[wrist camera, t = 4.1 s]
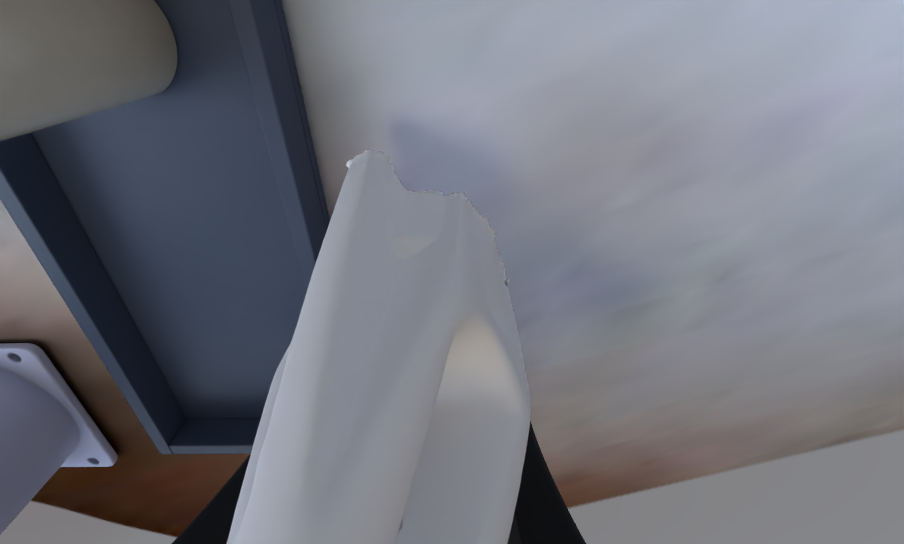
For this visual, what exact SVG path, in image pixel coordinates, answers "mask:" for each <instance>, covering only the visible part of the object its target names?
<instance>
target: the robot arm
mask: <svg viewBox="0 0 904 544" xmlns="http://www.w3.org/2000/svg"><path fill="white" fill-rule="evenodd" d="M250 456H251V454H250V455H249V457H248V458H247V459H246V460H245V461H244V463H243V464H242V465H241V466H240V467H239V469H238V470H237V471H236V472H235V473H234V475H233V476H232V477H231V478H230V479H229V480H228V482H227V483H226V484H225V485H224V486H223V487H222V489H221V490H220V491H219V492H218V493H217V494H216V495H215V497H214V498H213V499H212V500H211V501H210V502H209V504H208V505H207V506H206V507H205V508H204V509H203V510H202V512H201V513H200V514H199V515H198V516H197V517H196V518H195V519H194V520H193V521H192V522H191V524H190V525H189V526H188V527H187V528H186V529H185V530H184V531H183V532H182V533H181V534H180V535H179V536H178V538H177V539H176V540H175V541H174V542H173V543H172V544H227V540H228V537H229V533H230V529H231V525H232V521H233V517H234V513H235V509H236V506H237V502H238V498H239V495H240V491H241V487H242V484H243V480H244V476H245V473H246V469H247V466H248V463H249V459H250ZM117 460H118V456H117V454H116V452H115V451H114V449H113V448H112V447H111V445H110V444H109V442H108V441H107V440H106V438H105V437H104V435H103V434H102V433H101V431H100V430H99V428H98V427H97V425H96V424H95V423H94V421H93V420H92V418H91V417H90V416H89V414H88V413H87V411H86V410H85V409H84V407H83V406H82V404H81V403H80V402H79V400H78V399H77V397H76V396H75V395H74V393H73V392H72V390H71V389H70V387H69V386H68V385H67V383H66V382H65V380H64V379H63V378H62V376H61V375H60V373H59V372H58V371H57V369H56V368H55V366H54V365H53V364H52V362H51V361H50V359H49V358H48V357H47V355H46V354H45V352H44V351H43V350H42V349H41V348H40V347H38V346H37V345H34V344H31V343H2V344H0V534H1V533H2V532H3V531H4V530H5V529H6V528H7V527H8V525H9V524H10V523H11V522H12V521H13V520H14V519H15V517H16V516H17V515H18V514H19V513H20V512H21V511H22V510H23V508H24V507H25V506H26V505H27V504H28V503H29V502H30V500H31V499H32V498H33V497H34V496H35V495H36V494H37V493H38V491H39V490H40V489H41V488H42V487H43V486H44V485H45V483H46V482H47V481H48V480H49V479H50V478H51V477H52V476H53V474H54V473H55V472H56V471H57V470H58V469H59V468H60V467H109V466H112V465H114V463H115V462H116V461H117ZM507 544H586V543H585V541H584V539H583V537H582V536H581V534H580V532H579V530H578V529H577V526H576V524H575V523H574V521H573V519H572V517H571V515H570V513H569V511H568V509H567V507H566V505H565V503H564V501H563V499H562V497H561V495H560V493H559V491H558V489H557V487H556V485H555V482H554V480H553V478H552V476H551V474H550V471H549V469H548V467H547V464H546V462H545V460H544V457H543V455H542V453H541V450H540V447H539V445H538V442H537V439H536V437H535V434H534V431H533V428H532V424H531V421H530V428H529V434H528V441H527V447H526V453H525V460H524V465H523V470H522V476H521V483H520V488H519V493H518V498H517V502H516V507H515V511H514V517H513V522H512V526H511V531H510V535H509V539H508V543H507Z"/></svg>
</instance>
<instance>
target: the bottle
mask: <svg viewBox="0 0 904 544" xmlns="http://www.w3.org/2000/svg"><path fill="white" fill-rule="evenodd" d="M177 60H178V56H177V46H176V41H175V37H174V34H173V31H172V29H171V26H170V24H169V22H168V20H167V18H166V16H165V15H164V13H163V12H162V10H161V9H160V7H159V6H158V5H157V3H156V2H155V1H154V0H0V142H2V141H5V140H8V139H12V138H15V137H18V136H22V135H25V134H28V133H32V132H35V131H39V130H42V129H45V128H49V127H52V126H55V125H59V124H62V123H66V122H69V121H72V120H76V119H79V118H82V117H86V116H89V115H92V114H96V113H99V112H103V111H106V110H109V109H113V108H116V107H119V106H123V105H126V104H130V103H133V102H136V101H140V100H143V99H146V98H150V97H153V96H156V95H158V94H160V93H161V92H162V91H164V90H165V89H166V88H167V87H168V86H169V85H170V83H171V81H172V80H173V77H174V75H175V72H176V68H177Z"/></svg>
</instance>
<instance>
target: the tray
mask: <svg viewBox="0 0 904 544" xmlns="http://www.w3.org/2000/svg"><path fill="white" fill-rule="evenodd" d="M154 1H155V2H156V3H157V5H158V6H159V7H160V9H161V10H162V12H163V13H164V15H165V16H166V18H167V20H168V22H169V24H170V26H171V29H172V31H173V34H174V37H175V41H176V46H177V56H178V60H177V68H176V72H175V75H174V77H173V80H172V81H171V83H170V85H169V86H168V87H167V88H166V89H165V90H164V91H162V92H161V93H160V94H158V95H156V96H153V97H150V98H146V99H143V100H140V101H136V102H133V103H130V104H126V105H123V106H119V107H116V108H113V109H109V110H106V111H103V112H99V113H96V114H92V115H89V116H86V117H82V118H79V119H76V120H72V121H69V122H66V123H62V124H59V125H55V126H52V127H49V128H45V129H42V130H39V131H35V132H32V133H28V134H25V135H22V136H18V137H15V138H12V139H8V140H5V141H2V142H0V200H1V201H2V203H3V204H4V206H5V208H6V209H7V211H8V212H9V214H10V216H11V217H12V219H13V220H14V222H15V224H16V225H17V227H18V228H19V230H20V231H21V233H22V235H23V236H24V238H25V239H26V241H27V243H28V244H29V246H30V247H31V249H32V251H33V252H34V254H35V255H36V257H37V258H38V260H39V262H40V263H41V265H42V266H43V268H44V270H45V271H46V273H47V274H48V276H49V278H50V279H51V281H52V282H53V284H54V286H55V287H56V289H57V290H58V292H59V293H60V295H61V297H62V298H63V300H64V301H65V303H66V305H67V306H68V308H69V309H70V311H71V313H72V314H73V316H74V317H75V319H76V320H77V322H78V324H79V325H80V327H81V328H82V330H83V332H84V333H85V335H86V336H87V338H88V340H89V341H90V343H91V344H92V346H93V348H94V349H95V351H96V352H97V354H98V355H99V357H100V359H101V360H102V362H103V363H104V365H105V367H106V368H107V370H108V371H109V373H110V375H111V376H112V378H113V379H114V381H115V382H116V384H117V386H118V387H119V389H120V390H121V392H122V394H123V395H124V397H125V398H126V400H127V402H128V403H129V405H130V406H131V408H132V410H133V411H134V413H135V414H136V416H137V417H138V419H139V421H140V422H141V424H142V425H143V427H144V429H145V430H146V432H147V433H148V435H149V437H150V438H151V440H152V441H153V443H154V444H155V446H156V448H157V449H158V451H159V452H160V454H173V453H174V454H242V453H251V452H252V447H253V444H254V440H255V437H256V434H257V430H258V427H259V423H260V420H261V416H262V413H263V410H264V406H265V402H266V399H267V396H268V393H269V390H270V386H271V383H272V380H273V378H274V375H275V372H276V370H277V368H278V366H279V364H280V362H281V360H282V358H283V356H284V354H285V353H286V351H287V349H288V347H289V345H290V344H291V341H292V338H293V335H294V332H295V329H296V326H297V323H298V320H299V316H300V313H301V309H302V306H303V303H304V300H305V296H306V293H307V289H308V286H309V283H310V280H311V276H312V273H313V270H314V267H315V264H316V261H317V258H318V255H319V252H320V249H321V246H322V243H323V240H324V237H325V235H326V232H327V229H328V226H329V223H330V222H329V217H328V212H327V208H326V203H325V199H324V194H323V190H322V185H321V181H320V176H319V172H318V167H317V162H316V158H315V153H314V149H313V144H312V140H311V135H310V131H309V126H308V122H307V117H306V112H305V108H304V103H303V99H302V94H301V90H300V85H299V81H298V76H297V72H296V67H295V62H294V58H293V53H292V49H291V44H290V40H289V35H288V31H287V26H286V22H285V17H284V12H283V8H282V3H281V0H154Z"/></svg>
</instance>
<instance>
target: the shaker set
mask: <svg viewBox="0 0 904 544" xmlns="http://www.w3.org/2000/svg"><path fill="white" fill-rule="evenodd" d="M384 154H385V153H383V152H376V151H374V150H372V151H371V150H368V149H367V150H365V151H364V152H363V154H358V155H357V156H355V157H354V159H352V160H348V162H347V164H345V165H346V166H347V167H348V172H347V174H346V177H345V180H344V182H343V185H342V188H341V191H340V194H339V197H338V200H337V202H336V205H335V208H334V211H333V214H332V217H331V220H330V223H329V226H328V229H327V232H326V235H325V237H324V240H323V243H322V246H321V249H320V252H319V255H318V258H317V261H316V264H315V267H314V270H313V273H312V276H311V280H310V283H309V286H308V289H307V293H306V296H305V300H304V303H303V306H302V309H301V313H300V316H299V320H298V323H297V326H296V329H295V332H294V335H293V338H292V341H291V344H290V345H289V347H288V349H287V351H286V353H285V354H284V356H283V358H282V360H281V362H280V364H279V366H278V368H277V370H276V372H275V375H274V378H273V380H272V383H271V386H270V390H269V393H268V396H267V399H266V402H265V406H264V410H263V413H262V416H261V420H260V423H259V427H258V430H257V434H256V437H255V440H254V444H253V447H252V452H251V456H250V459H249V463H248V466H247V469H246V473H245V476H244V480H243V484H242V487H241V491H240V495H239V498H238V502H237V506H236V509H235V513H234V517H233V521H232V525H231V529H230V533H229V537H228V540H227V544H507V543H508V539H509V535H510V531H511V526H512V522H513V517H514V511H515V507H516V502H517V498H518V493H519V488H520V483H521V476H522V470H523V465H524V460H525V453H526V447H527V441H528V434H529V428H530V414H531V403H530V393H529V386H528V381H527V376H526V371H525V366H524V361H523V355H522V349H521V345H520V339H519V334H518V329H517V325H516V320H515V315H514V310H513V306H512V302H511V298H510V294H509V290H508V285H507V283H508V282H509V281H510V280H511V279H508V280H507V281H506V277H505V274H504V268H505V265H504V264H503V261H502V260H501V258H500V255H499V252H498V250H497V249H498V248H497V245H496V241H495V237H494V235H495V234H496V231H495V230H494V229H493V228H492V227H491V226H490V225H488V220H487V218H486V217H485V216H481V215H480V214H479V213H480V212H479V210H478V209H477V208H474V206H473V205H471V202H470V201H469V200H468V199H466V197H465V194H464V193H462V192H461V193H456V194H454V193H452V195H448V196H445V195H443V194H442V191H441V192H437V191H435V190H434V191H429V190H426V191H417V192H415V191H413V192H409V191H407V190H406V189H405V188H404V187H403V186H402V185H401V182H400V180H399V179H398V177H397V176H396V174H395V171H394V170H393V169H392V164H391V162H390V160H389V157H388V156H387V155H384Z"/></svg>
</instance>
